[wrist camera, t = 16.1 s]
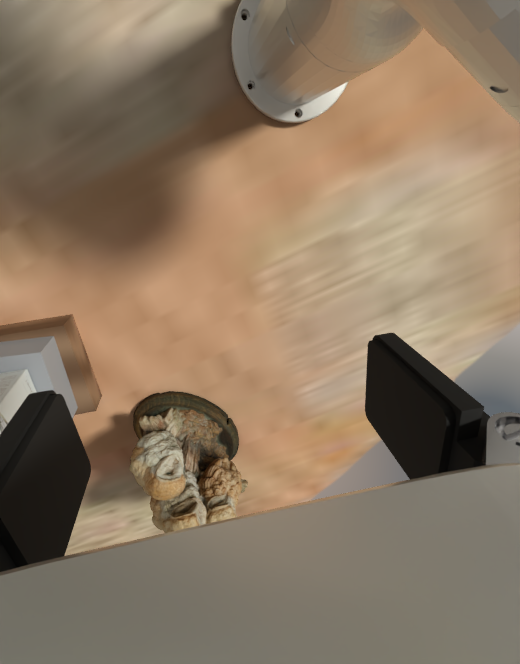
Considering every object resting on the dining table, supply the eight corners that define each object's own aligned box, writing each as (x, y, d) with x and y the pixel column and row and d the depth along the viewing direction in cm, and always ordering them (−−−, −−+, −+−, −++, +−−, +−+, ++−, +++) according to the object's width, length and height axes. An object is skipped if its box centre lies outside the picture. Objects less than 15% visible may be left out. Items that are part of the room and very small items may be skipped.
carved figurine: (261, 429, 56) (288, 529, 41) (215, 477, 59) (224, 588, 43) (162, 373, 49) (150, 469, 34) (114, 431, 51) (83, 545, 36)
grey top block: (-44, 347, 39) (-67, 365, 36) (53, 335, 40) (40, 352, 37) (-9, 419, 43) (-27, 442, 40) (77, 407, 45) (68, 428, 41)
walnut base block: (-32, 329, 42) (-52, 344, 39) (73, 312, 44) (63, 325, 40) (9, 409, 48) (-5, 429, 44) (102, 392, 49) (95, 410, 45)
